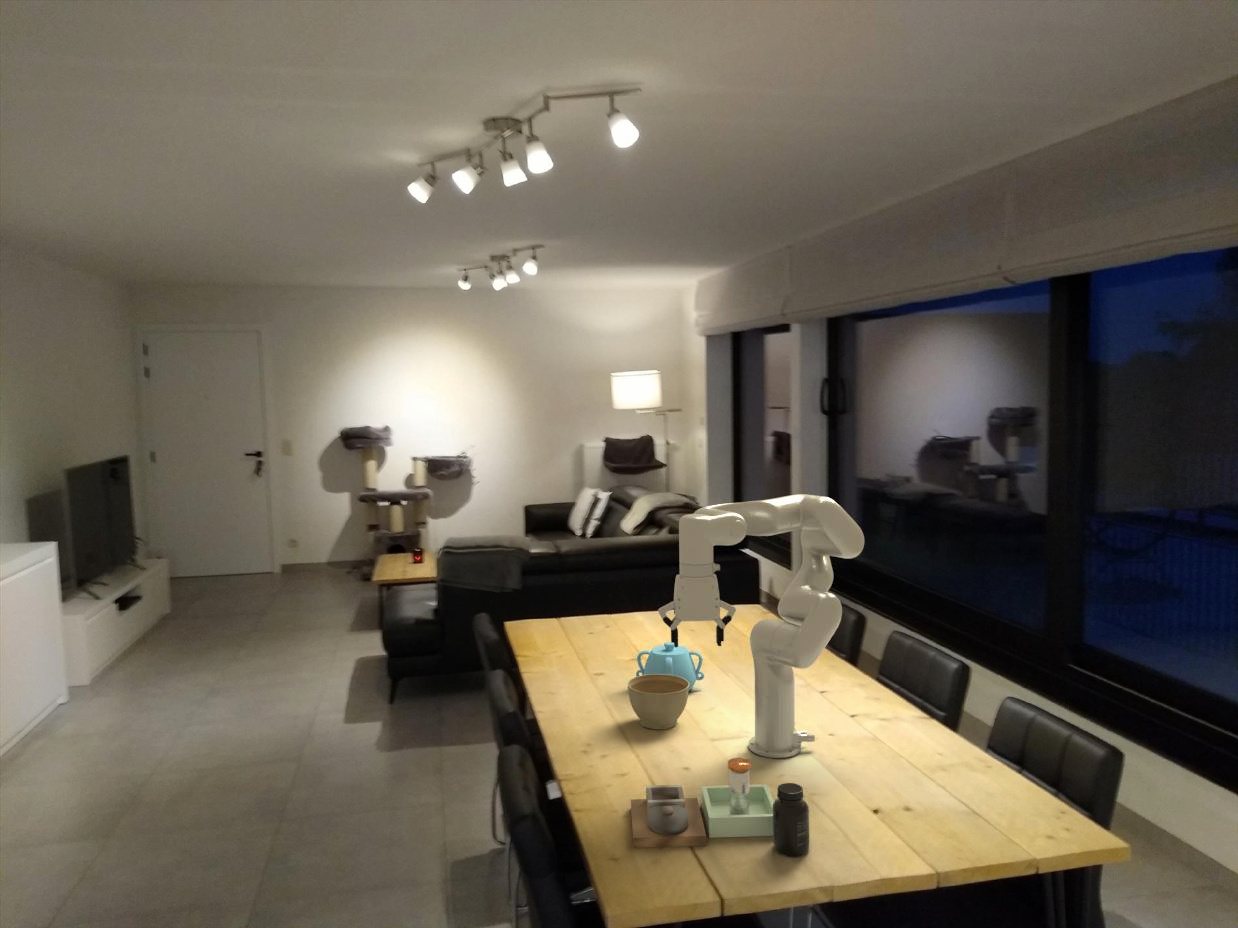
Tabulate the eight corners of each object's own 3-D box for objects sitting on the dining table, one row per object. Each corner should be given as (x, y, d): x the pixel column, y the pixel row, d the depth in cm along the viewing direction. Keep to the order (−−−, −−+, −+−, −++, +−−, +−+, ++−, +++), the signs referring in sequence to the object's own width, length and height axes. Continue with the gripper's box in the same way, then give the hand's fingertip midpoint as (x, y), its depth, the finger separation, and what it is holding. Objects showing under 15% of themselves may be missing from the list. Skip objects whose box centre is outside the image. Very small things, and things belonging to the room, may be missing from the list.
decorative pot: (676, 675, 274) (675, 632, 272) (709, 690, 260) (708, 644, 259) (632, 686, 265) (631, 641, 264) (663, 701, 251) (662, 654, 250)
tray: (767, 802, 190) (767, 784, 190) (780, 835, 176) (780, 815, 176) (701, 804, 190) (701, 785, 189) (709, 837, 176) (709, 817, 175)
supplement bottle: (804, 838, 175) (804, 779, 174) (813, 857, 168) (813, 795, 167) (769, 840, 174) (769, 780, 173) (776, 858, 168) (776, 796, 167)
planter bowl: (685, 737, 226) (685, 695, 225) (622, 733, 229) (622, 691, 228) (693, 713, 242) (692, 674, 241) (634, 710, 245) (633, 671, 244)
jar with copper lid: (749, 808, 185) (748, 757, 184) (752, 819, 181) (752, 766, 180) (726, 809, 185) (726, 757, 184) (730, 820, 181) (729, 767, 180)
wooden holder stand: (697, 806, 189) (696, 781, 188) (706, 845, 173) (705, 818, 172) (630, 808, 188) (630, 783, 188) (633, 847, 173) (633, 820, 172)
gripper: (732, 565, 203) (733, 639, 205) (656, 567, 203) (657, 641, 205) (737, 572, 196) (738, 649, 197) (658, 574, 196) (660, 651, 197)
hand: (697, 645), depth 201 cm, fingers open, 9 cm apart
